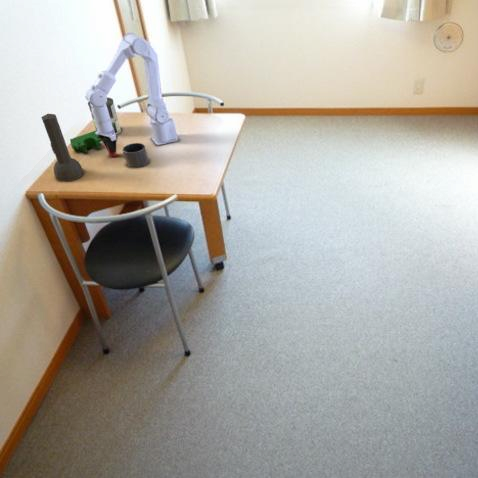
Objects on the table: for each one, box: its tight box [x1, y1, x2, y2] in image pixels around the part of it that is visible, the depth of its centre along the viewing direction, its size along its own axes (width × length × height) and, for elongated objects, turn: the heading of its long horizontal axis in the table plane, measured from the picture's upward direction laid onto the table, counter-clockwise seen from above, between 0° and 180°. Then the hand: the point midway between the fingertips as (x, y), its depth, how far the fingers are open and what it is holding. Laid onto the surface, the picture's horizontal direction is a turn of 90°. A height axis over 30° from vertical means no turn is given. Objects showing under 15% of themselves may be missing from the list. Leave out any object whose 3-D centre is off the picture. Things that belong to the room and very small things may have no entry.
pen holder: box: [122, 142, 149, 169], centre depth 194 cm, size 8×8×6 cm
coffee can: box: [87, 96, 122, 136], centre depth 214 cm, size 10×10×14 cm
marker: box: [104, 136, 118, 158], centre depth 198 cm, size 3×3×8 cm
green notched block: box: [69, 130, 103, 155], centre depth 203 cm, size 12×6×9 cm, turn 130°
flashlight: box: [41, 113, 84, 182], centre depth 181 cm, size 10×25×10 cm
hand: (111, 150), depth 199 cm, fingers closed on marker, 3 cm apart
